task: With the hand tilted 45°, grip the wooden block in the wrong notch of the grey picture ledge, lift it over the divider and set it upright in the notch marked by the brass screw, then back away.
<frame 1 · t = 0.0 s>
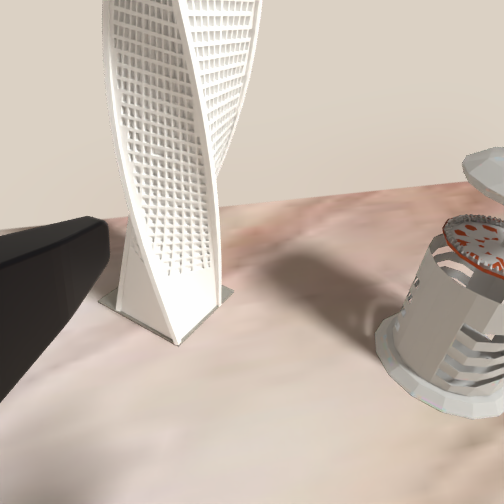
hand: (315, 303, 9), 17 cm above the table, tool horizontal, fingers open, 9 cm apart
french press: (451, 357, 32), on the table
skyscraper: (172, 310, 33), on the table
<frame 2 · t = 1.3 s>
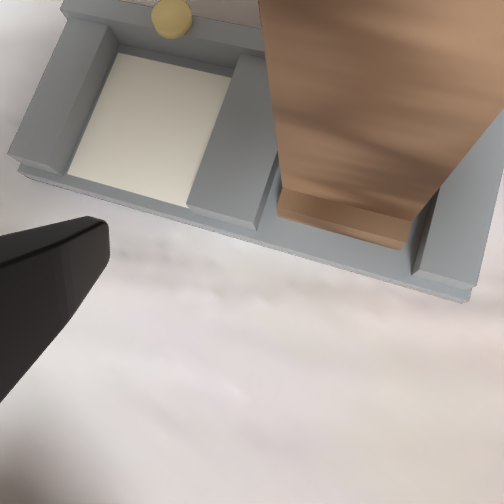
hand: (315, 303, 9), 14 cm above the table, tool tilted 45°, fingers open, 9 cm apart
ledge: (251, 159, 24), on the table
wooden block: (353, 177, 22), point 1 cm above the table, touching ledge
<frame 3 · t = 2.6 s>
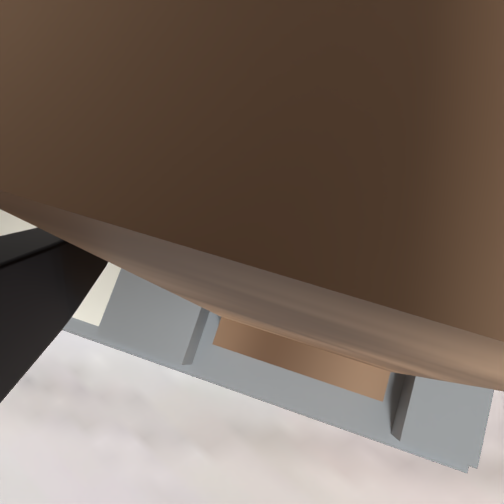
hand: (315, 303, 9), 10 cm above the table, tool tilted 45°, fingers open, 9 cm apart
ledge: (192, 259, 19), on the table
wooden block: (318, 293, 17), point 1 cm above the table, touching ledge
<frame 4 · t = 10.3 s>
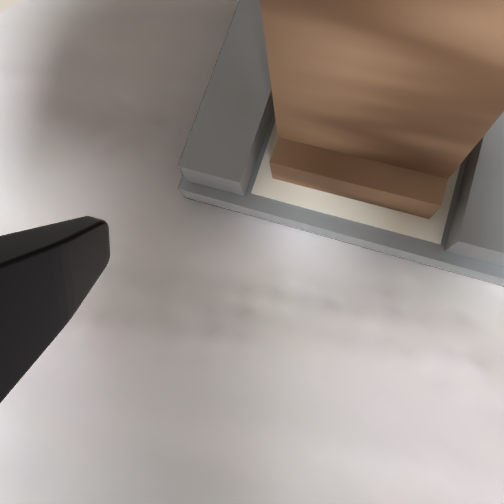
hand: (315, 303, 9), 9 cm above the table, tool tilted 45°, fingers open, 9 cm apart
wooden block: (369, 127, 17), point 1 cm above the table, touching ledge
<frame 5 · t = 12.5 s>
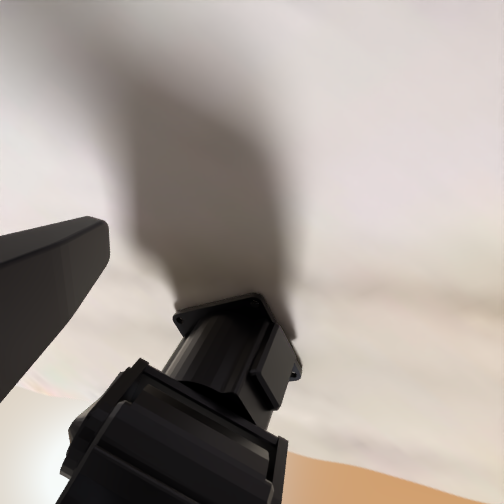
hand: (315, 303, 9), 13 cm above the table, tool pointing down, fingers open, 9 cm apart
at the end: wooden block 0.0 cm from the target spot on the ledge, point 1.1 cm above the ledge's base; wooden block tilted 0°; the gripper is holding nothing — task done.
